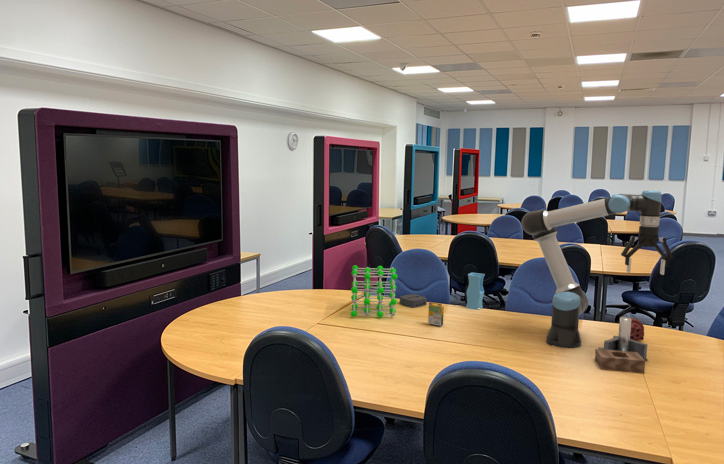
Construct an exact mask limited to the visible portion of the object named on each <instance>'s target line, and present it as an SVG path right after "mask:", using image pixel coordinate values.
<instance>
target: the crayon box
mask: <svg viewBox="0 0 724 464" xmlns="http://www.w3.org/2000/svg"><path fill="white" fill-rule="evenodd" d="M444 312H445V311H444V305H442V303H438V302H432V301H428V312H427V313H428V316H427V317H428V319H427V323H428V325H434V326H439V327H442V326H443V325H444Z"/></svg>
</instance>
